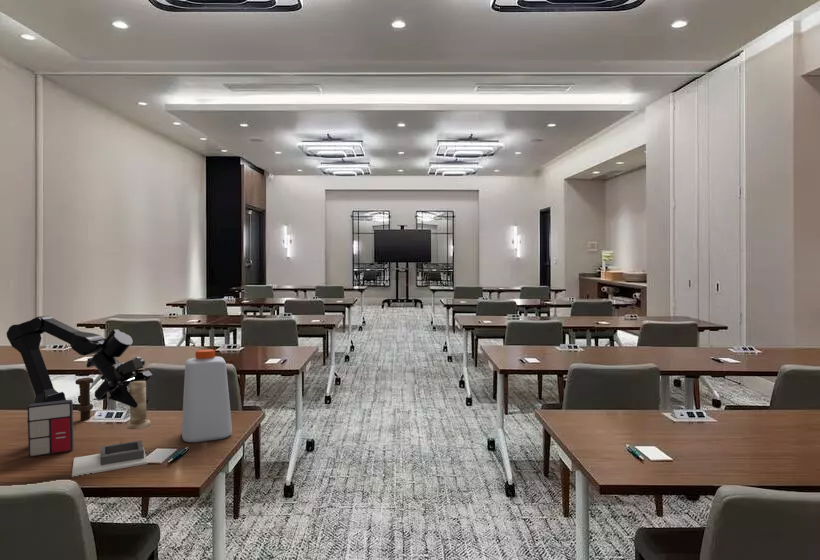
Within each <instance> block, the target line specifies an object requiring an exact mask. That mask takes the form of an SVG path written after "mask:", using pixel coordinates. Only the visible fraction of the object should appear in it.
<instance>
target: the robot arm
mask: <svg viewBox="0 0 820 560" xmlns="http://www.w3.org/2000/svg"><path fill="white" fill-rule="evenodd" d="M44 333H47V334H49V335H51V336H52V337H54V338H57V339H58V340H61V341H63V342H65V343H67V344H68V345H70V347H71V349H72V350H73V351H74V352H75V353H77V354H78V355H80V356H82V357H84V356H90V355H92V357H88V358H87V362H86V368H92V367H95V368H96V369H97V371H99V373H100V374H101V376H100V379H101V380H102V383H101V384H100V385H99V386H98V388H96V389H95V391H94V398H96V400H97V401H99V402H100V401H103V400H106V399H107V393H109V397H108V400H109V401H110V400H111V401H115V402H118V403H121V404H124V405H127V406H129V407H130V406H131V407H134V408H136V407H137V406H138V405H137V403H136V401H135V400H134V399H133V397H132V396H131V395H130V391H128V388H129V389H130V382H134V381H146V383H148V381H149V380H150V379H151V378H152V377H153V373H151V371H150V370H146V369H145V370H142V371H138V370H141V369H144V366H145V360H144V358H142V356H140V355H139V356H135V357H134V358H132V359H130V360H128V361H126V362H125V361H123V362H120V361H119V360H118V359H117V358H121V357H122V356H123V355H124V353H125V352H126V351H127V350H128V349H129V347H130V346H131V345H132V344H133V338H132V336H130V335H129V334H128V333H125V332H123V331H120V329H113V330H112V331H111V332H110V333H109V335H108V336H107V337H106V338H104V337H103V336H102V335H100V334H97V333H93V332H87V331H80V330H78V329H76V328H74V327H72V326H70V325H68V324H66V323H64V322H62V321H59V320H58V319H56V318H54V317H53V316H51V315H42V316H41V315H40V316H35V317H33V318H32V319H30V320H27V321H25V322H22V323H19V324H18V323H17V324H12V325H10V326H9V328H8V330H7V331H6V337H7V339H8V341H9V343H10V345H11V347H12V348H13V349H14V350H16V351H17V352H19V353H20V355H21V359H22V361H23V362H24V363H23V364H24V366H25V369H26V371H27V372H26V373H27V375H28V378H29V380H30V383H31V386H32V388H33V391H34V395H35V398H34V401H33V404H34V403H44V402H54V401H63V400H67V399H66V395H65V392H63V391H60V392H58V391H57V390H56V389H55V388H54V385H53V383H52V379H51V376H50V374H49V372H48V368H47V367H46V363H45V361H44V358H43V355H42V352H41V350H40V345H41V341H42V336H41V335H43V334H44ZM93 354H94V355H93ZM136 371H138V372H137V373H136ZM149 402H150V401H149V398H148V396H147V394H146V405H148V403H149ZM26 422H27V423H28V419H27V420H26Z"/></svg>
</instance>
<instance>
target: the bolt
mask: <svg viewBox="0 0 820 560" xmlns="http://www.w3.org/2000/svg"><path fill="white" fill-rule="evenodd" d="M94 382H95V381H94V378H93V377H82V378H78V379H76V380H75V385H77V386H78V387H79V400H80V401H79V405H77V411H78V412H79V413H80V420H81V421H89V420H90V419H91V411H92V410H93V409H94V405H93V404H92V403H91V390H90V389H91V384H94ZM88 419H89V420H88Z"/></svg>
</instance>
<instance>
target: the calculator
mask: <svg viewBox="0 0 820 560" xmlns="http://www.w3.org/2000/svg"><path fill="white" fill-rule="evenodd" d="M73 406H74V405H73V399H66V400H63V401H54V402H44V403H34V402H33V403H29V405H28V406H27V409H26V410H27V420H28V422H27V434H28V435H27V436H28V437H27V438H28V439H27V440H28V443H27V444H28V457H29V458H32V457H39V456H48V455H54V454H60V453H62V454H63V453H67V452H68V451H69V452H73V450H74V423H73V422H74V416H73V414H74V411H73V410H74V409H73ZM69 452H68V453H69Z"/></svg>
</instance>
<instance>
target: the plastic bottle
mask: <svg viewBox="0 0 820 560" xmlns="http://www.w3.org/2000/svg"><path fill="white" fill-rule="evenodd" d="M194 355H195V357H191V358H188V359H186V361H185V362H184V363H185V364H184V381H183V383H184V384H183V399H182V400H183V402H182V403H183V404H182V421H181V437H182V440H183V441H184V442H186V443H193V444H194V443H201V442H202V443H203V442H207V441H208V442H209V441H216V440H223V439H226V438H229V436H231V435H232V433H233V428H232V427H233V425H232V415H231V413H232V412H231V403H230V392H229V383H228V382H229V381H228V371H227V370H228V369H227V362H226V361H225V359H224V358H223V357H222V356H216V350H215V349H212V348H211V349H210V348H209V349H207V348H206V349H205V348H204V349H198V350H196V351H195V354H194Z"/></svg>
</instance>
